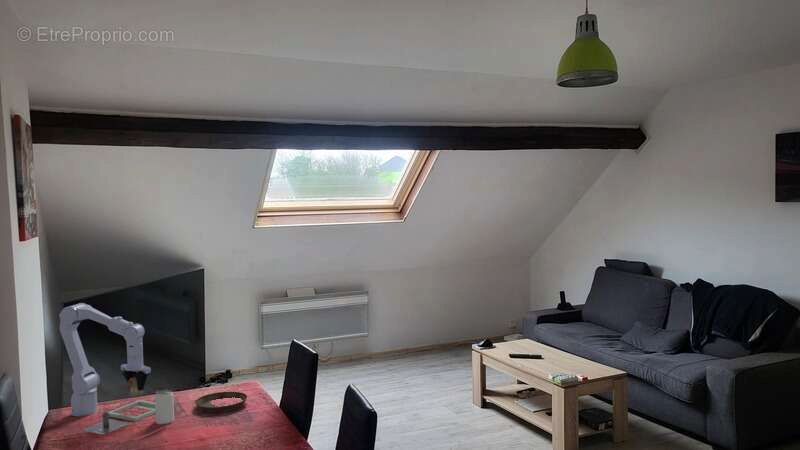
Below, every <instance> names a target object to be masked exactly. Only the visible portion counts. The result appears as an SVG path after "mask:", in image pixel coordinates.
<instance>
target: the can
mask: <svg viewBox="0 0 800 450" xmlns="http://www.w3.org/2000/svg"><path fill="white" fill-rule="evenodd" d="M154 403H155V411H156V413H155V423H156V424H158V425H163V424H164V425H165V424H166V425H167V426H168V425H171V424H173V423H174V421H175V406H174V393H173V390H172V389H169V388H167V389H159V390H157V391H156V393H155V396H154Z"/></svg>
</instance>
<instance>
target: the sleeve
mask: <svg viewBox="0 0 800 450" xmlns="http://www.w3.org/2000/svg"><path fill="white" fill-rule="evenodd" d="M127 386H130V389H129V390H130V391H129V392H130V396H139V395H143V393H144V391H143V390H144V389H143V390H141V391H138V388H137V381H136V378H135V377H133V378H130V380H128V384H127Z"/></svg>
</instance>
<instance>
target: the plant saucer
mask: <svg viewBox="0 0 800 450" xmlns="http://www.w3.org/2000/svg"><path fill="white" fill-rule="evenodd" d="M232 397H233V398H234V397H235V398H241V399H242V400H243V401H242V402H239V403H236V404H233V405H228V406H221V407H218V406H216V407H215V405H212V404H211V402H210V401H212V400H216V399H223V398H232ZM247 399H248V395H247V394H246V393H244V392H241V391H221V392H220V391H219V392H213V393H207V394H205V395H202V396H200V397H198V398H196V399H195V400H194V404H195V406H196V407H197V408H198V409H199V410H201V411H202V412H205V413H211V412H218V413H224V411H226V412H230V411H229V410H231V411H233V409H234V410H236V409H235V408H237V409H238V407H239V408H240V407H241V406H242V404H245V402H246V401H247ZM209 403H210V404H209Z"/></svg>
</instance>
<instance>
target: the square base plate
mask: <svg viewBox="0 0 800 450" xmlns="http://www.w3.org/2000/svg"><path fill="white" fill-rule="evenodd" d="M108 412H109V411H104V412H103V413H102V414H101V417H102V421H100V422H97V423H95V424H92V425H90V426H87V427H84V428H82V429H80V431H84V432H88V433H94V434H97V435H103V436H104V435H106V434H109V433H111V432H114V431H116V430H118V429H121V428H123V427H125V426H128V425H131V424H132V422H127V421H121V420H118V419H117V420H116V419H112V418H109V417H110V416H109V413H108Z"/></svg>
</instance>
